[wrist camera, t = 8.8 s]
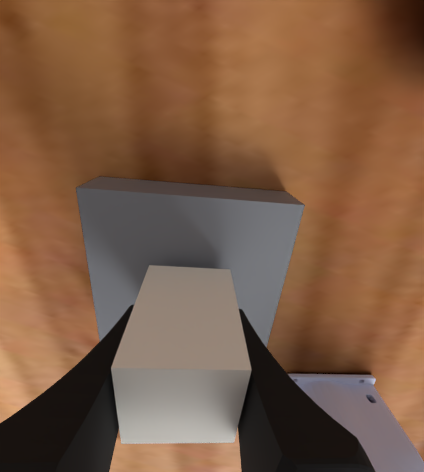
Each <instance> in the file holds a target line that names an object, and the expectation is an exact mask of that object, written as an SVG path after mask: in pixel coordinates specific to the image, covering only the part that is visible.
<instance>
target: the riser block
mask: <svg viewBox="0 0 424 472" xmlns="http://www.w3.org/2000/svg"><path fill="white" fill-rule="evenodd" d="M76 192H77V198H78V205H79V211H80V218H81V224H82V230H83V237H84V243H85V249H86V256H87V262H88V269H89V275H90V281H91V288H92V294H93V300H94V307H95V313H96V320H97V326H98V332H99V339H100V341H101V340H102V339H103V338H104V337H105V336H106V334H107V333H108V332H109V331H110V330H111V329H112V328H113V327H114V325H115V324H116V323H117V322H118V321H119V319H120V318H121V317H122V316H123V314H124V313H125V312H126V310H127V309H128V308H129V306H131V305H135V302H136V299H137V297H138V294H139V291H140V288H141V286H142V283H143V280H144V278H145V275H146V272H147V270H148V267H149V265H155V266H175V267H194V268H213V269H230V271H231V275H232V280H233V285H234V290H235V294H236V299H237V304H238V308H239V309H242V310H243V311H244V313H245V315H246V317H247V318H248V320H249V322H250V323H251V325H252V327H253V328H254V330H255V332H256V333H257V335H258V336H259V338H260V339H261V341H262V342H263V344H264V345H265V346H266V347H267V344H268V340H269V336H270V333H271V329H272V325H273V321H274V318H275V314H276V310H277V307H278V303H279V299H280V295H281V292H282V288H283V284H284V280H285V277H286V273H287V269H288V266H289V262H290V258H291V254H292V251H293V247H294V243H295V240H296V236H297V232H298V228H299V225H300V221H301V217H302V214H303V210H304V206H305V205H304V204H303V203H301V202H300V201H299V200H297V199H296V198H294V197H293V196H292V195H290V194H289V193H288V192H286V191H275V190H262V189H250V188H237V187H225V186H213V185H200V184H188V183H175V182H163V181H150V180H138V179H126V178H113V177H101V176H99V177H97V178H95V179H93V180H91V181H89V182H87V183H84V184H82V185H80V186H78V187H76Z"/></svg>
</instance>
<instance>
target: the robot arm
mask: <svg viewBox="0 0 424 472" xmlns="http://www.w3.org/2000/svg"><path fill="white" fill-rule="evenodd" d="M133 307H134V305H131V306H129V308H128V309H127V310H126V312H125V313H124V314H123V316H122V317H121V318H120V319H119V321H118V322H117V323H116V324H115V325H114V327H113V328H112V329H111V330H110V331H109V332H108V333H107V334H106V336H105V337H104V338H103V339H102V340H101V341H100V342H99V343H98V344H97V345H96V346H95V347H94V348H93V349H92V350H91V351H90V352H89V353H88V354H87V355H86V356H85V357H84V358H83V359H82V360H81V361H80V362H79V363H78V364H77V365H76V366H75V367H74V368H72V369H71V370H70V371H69V372H68V373H67V374H66V375H64V376H63V377H62V378H61V379H60V380H58V381H57V382H56V383H55V384H54V385H52V386H51V387H50V388H49V389H47V390H46V391H45V392H44V393H42V394H41V395H40V396H38V397H37V398H36V399H34V400H33V401H31V402H30V403H29V404H27V405H26V406H25V407H23V408H22V409H21V410H19V411H18V412H16V413H15V414H14V415H12V416H11V417H9V418H8V419H6V420H5V421H3V422H2V423H0V472H109V470H110V465H111V460H112V456H113V451H114V447H115V442H116V438H117V434H118V429H119V423H118V416H117V408H116V401H115V394H114V387H113V379H112V372H111V366H112V364H113V361H114V358H115V356H116V353H117V350H118V348H119V345H120V342H121V339H122V337H123V334H124V331H125V329H126V326H127V323H128V321H129V318H130V315H131V313H132V310H133ZM239 313H240V318H241V323H242V327H243V332H244V337H245V341H246V346H247V351H248V356H249V360H250V365H251V370H252V371H251V375H250V379H249V383H248V387H247V391H246V395H245V399H244V403H243V407H242V411H241V415H240V419H239V424H238V432H239V443H240V456H241V469H242V472H424V462H423V460H422V458H421V456H420V455H419V453H418V451H417V450H416V448H415V447H414V445H413V444H412V442H411V441H410V439H409V438H408V436H407V435H406V433H405V432H404V430H403V429H402V427H401V426H400V424H399V423H398V421H397V420H396V418H395V417H394V415H393V414H392V412H391V411H390V410H389V408H388V407H387V405H386V404H385V402H384V401H383V399H382V398H381V396H380V395H379V393H378V392H377V390H376V389H375V387H374V386H373V384H374V383H375V381H376V379H375V378H374V376H373V375H345V374H287V373H286V372H285V371H284V369H283V368H282V367H281V366H280V365H279V363H278V362H277V361H276V360H275V358H274V357H273V356H272V354H271V353H270V352H269V351H268V349H267V348H266V346H265V345H264V344H263V342H262V341H261V339H260V338H259V336H258V335H257V333H256V332H255V330H254V328H253V327H252V325H251V323H250V322H249V320H248V318H247V317H246V315H245V313H244V311H243V310H242V309H239Z"/></svg>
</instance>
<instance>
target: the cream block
mask: <svg viewBox="0 0 424 472" xmlns="http://www.w3.org/2000/svg"><path fill="white" fill-rule="evenodd" d="M251 371H252V370H251V365H250V360H249V356H248V351H247V346H246V341H245V337H244V332H243V327H242V323H241V318H240V313H239V308H238V304H237V299H236V294H235V290H234V285H233V280H232V275H231V271H230V269H213V268H194V267H175V266H155V265H149V267H148V270H147V272H146V275H145V278H144V280H143V283H142V286H141V288H140V291H139V294H138V297H137V299H136V302H135V305H134V307H133V310H132V313H131V315H130V318H129V321H128V323H127V326H126V329H125V331H124V334H123V337H122V339H121V342H120V345H119V348H118V350H117V353H116V356H115V358H114V361H113V364H112V366H111V372H112V379H113V387H114V394H115V401H116V408H117V416H118V423H119V430H120V437H121V444H140V443H234V440H235V436H236V432H237V428H238V424H239V419H240V415H241V411H242V407H243V403H244V399H245V395H246V391H247V387H248V383H249V379H250V375H251Z"/></svg>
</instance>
